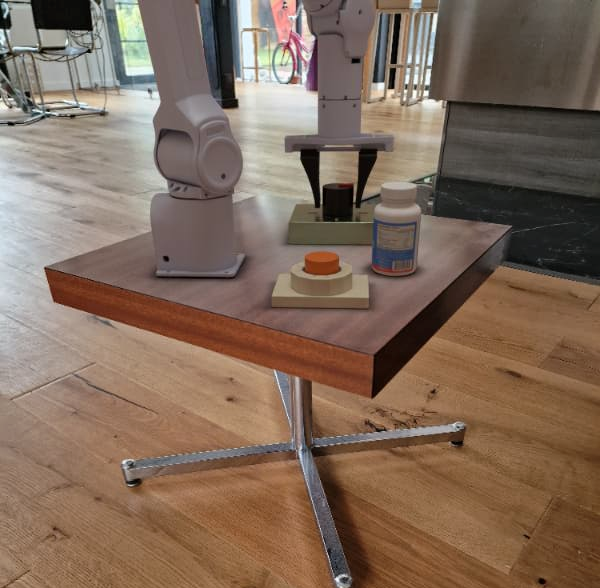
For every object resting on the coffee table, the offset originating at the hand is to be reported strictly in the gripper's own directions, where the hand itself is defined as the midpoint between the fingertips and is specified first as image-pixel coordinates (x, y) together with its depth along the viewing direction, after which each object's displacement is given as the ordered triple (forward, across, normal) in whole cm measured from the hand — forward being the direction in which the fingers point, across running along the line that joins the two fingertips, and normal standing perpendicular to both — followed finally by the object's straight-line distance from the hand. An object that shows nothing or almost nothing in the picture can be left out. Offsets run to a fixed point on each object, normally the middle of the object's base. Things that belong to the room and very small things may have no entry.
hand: (337, 206), depth 81 cm
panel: (+4, 0, 0) cm, 4 cm away
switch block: (+4, +1, +25) cm, 25 cm away
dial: (+1, 0, 0) cm, 1 cm away
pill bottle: (+4, -7, +16) cm, 18 cm away
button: (+1, +1, +25) cm, 25 cm away
